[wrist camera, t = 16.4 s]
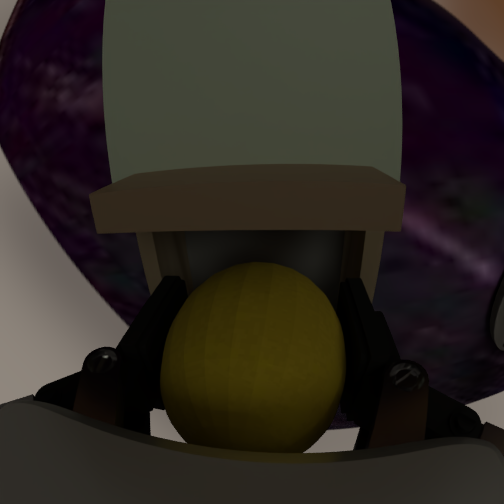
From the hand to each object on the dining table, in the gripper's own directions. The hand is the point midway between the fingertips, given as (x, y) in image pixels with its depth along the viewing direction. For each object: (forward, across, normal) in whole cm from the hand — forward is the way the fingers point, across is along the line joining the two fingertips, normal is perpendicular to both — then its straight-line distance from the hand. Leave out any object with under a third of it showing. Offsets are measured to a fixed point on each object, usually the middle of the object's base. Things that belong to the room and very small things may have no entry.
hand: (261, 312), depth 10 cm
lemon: (+2, 0, 0) cm, 2 cm away
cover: (0, 0, -8) cm, 8 cm away
